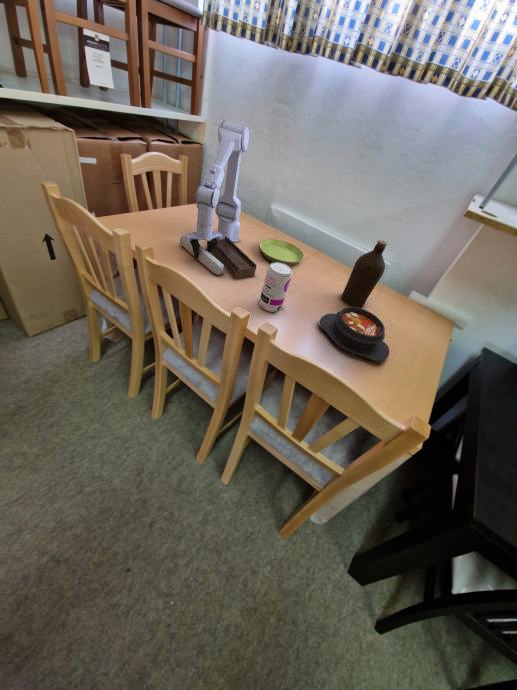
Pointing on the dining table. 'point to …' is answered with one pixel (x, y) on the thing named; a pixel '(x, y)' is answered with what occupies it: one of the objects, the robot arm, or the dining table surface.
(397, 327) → the dining table surface
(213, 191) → the robot arm
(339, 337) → the casserole
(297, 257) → the saucer
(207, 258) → the grey octagonal prism
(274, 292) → the supplement can
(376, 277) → the olive oil
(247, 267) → the dark brown tray
